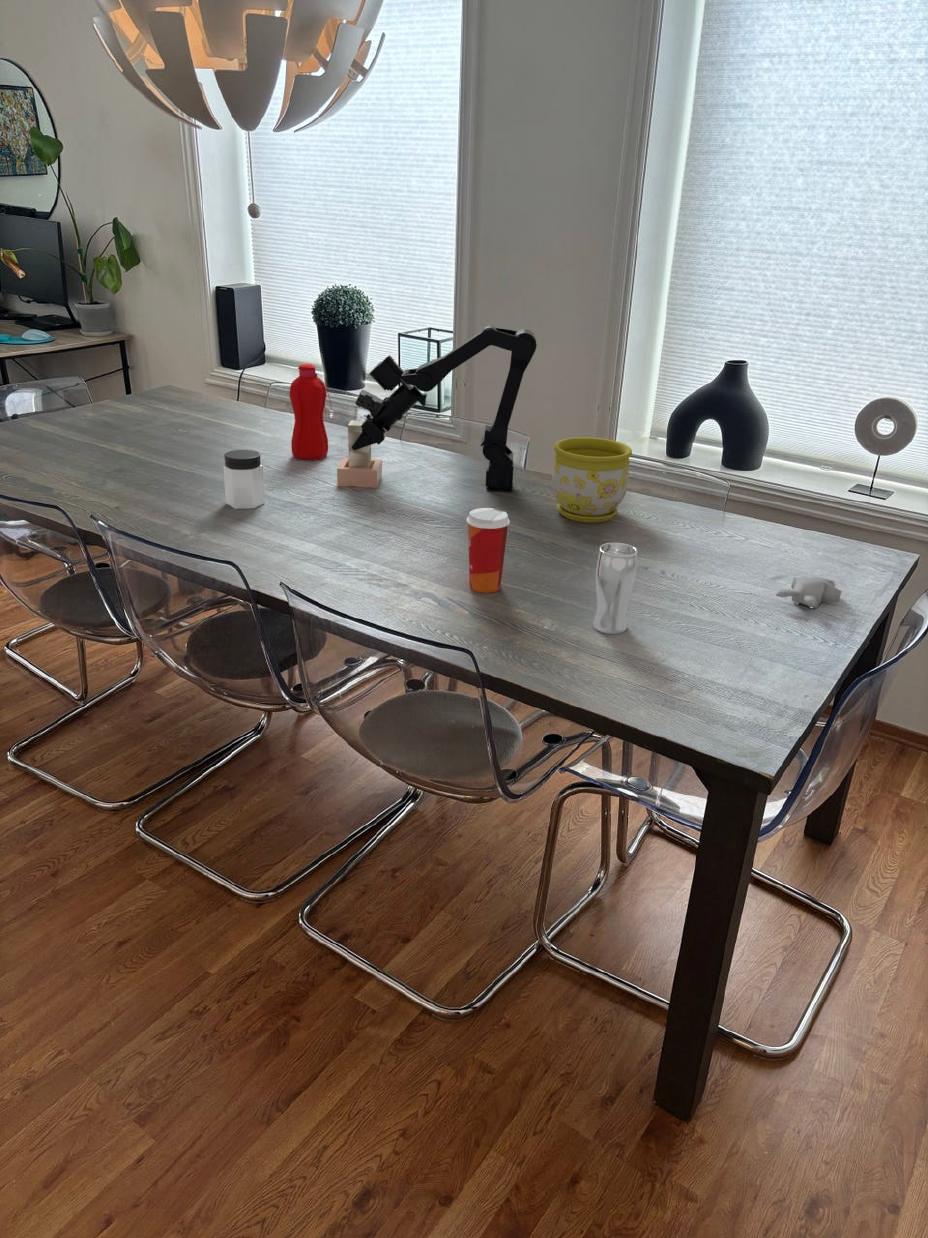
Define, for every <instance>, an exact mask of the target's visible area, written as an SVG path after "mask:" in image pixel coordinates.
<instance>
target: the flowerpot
mask: <svg viewBox="0 0 928 1238" xmlns="http://www.w3.org/2000/svg"><path fill="white" fill-rule="evenodd" d="M553 449H554V452H555V455H554V464H553V467H552V475H551V476H552V477H551V486H552V491H553V492H552V493H553V494H554V497H555V499H556V501H557V502H558V503H557V505H556V507H557V508H556V509H557V510H558V511H559V512H560V514H561V515H562V517H564V518H565V519H566V518H567V519H569V520H571V521H574V522H581V523H590V524H591V523H593V524H594V523H603V522H608V521H610V520H611V519H612V518H613V517H614V516H615V515H617V514H618V506H620V504H621V503H622V501H623V499H624V498H625V496H626V493H627V491H628V486H629V465H630V458H631V456H632V454H633V450H632V448H631V447H630V446H629V445H628V444H625V443H623V442H620V441H617V440H613V439H607V438H600V437H584V436H581V437H580V436H579V437H569V438H564V439H561V440H557V441H556V442H555V443H554V445H553Z"/></svg>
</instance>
